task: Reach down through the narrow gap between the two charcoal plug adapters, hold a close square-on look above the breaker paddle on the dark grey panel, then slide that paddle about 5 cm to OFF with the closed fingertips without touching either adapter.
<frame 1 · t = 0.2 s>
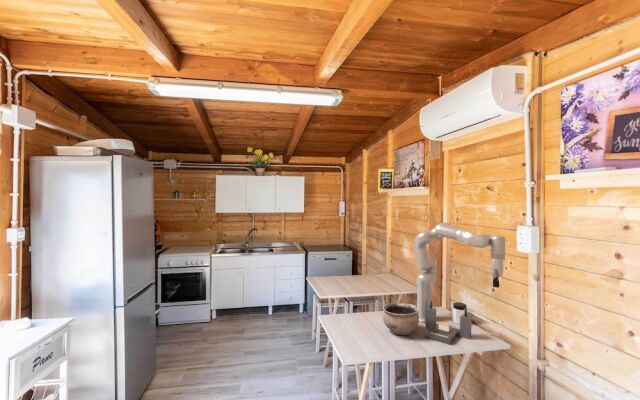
hand: (497, 285, 187), 31 cm above the table, tool pointing down, fingers open, 9 cm apart
left plug adapter: (430, 327, 202), on the table
breaker paddle: (444, 326, 191), point 5 cm above the table, slide at 0.0 cm
breaker panel: (443, 336, 189), on the table
ceramic bowl: (400, 332, 195), on the table
jar: (459, 322, 211), on the table
right plug adapter: (465, 336, 189), on the table
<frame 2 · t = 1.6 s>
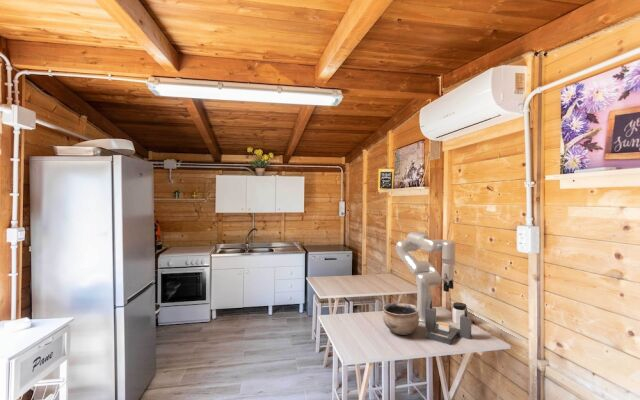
hand: (448, 289, 196), 26 cm above the table, tool pointing down, fingers open, 7 cm apart
nothing on the table moved.
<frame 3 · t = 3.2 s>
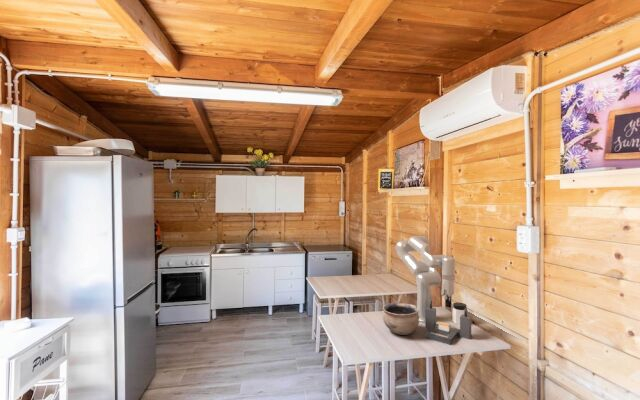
hand: (448, 306, 196), 15 cm above the table, tool pointing down, fingers closed
nothing on the table moved.
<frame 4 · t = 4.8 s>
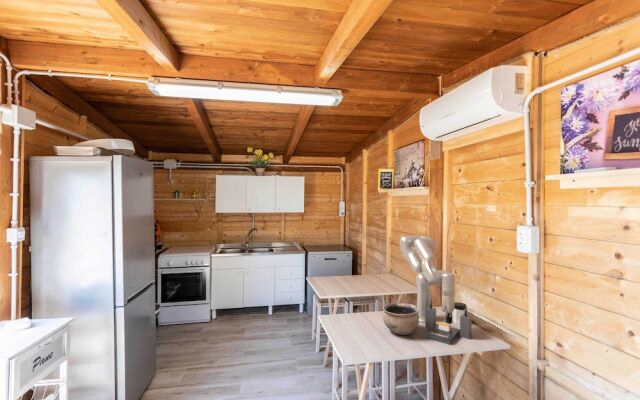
hand: (449, 323, 196), 5 cm above the table, tool pointing down, fingers closed
nothing on the table moved.
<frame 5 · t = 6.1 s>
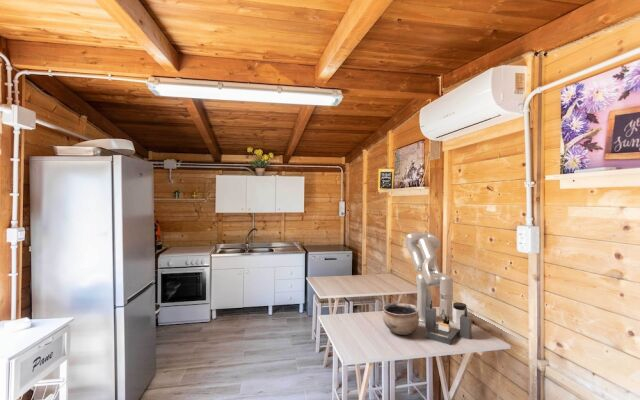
hand: (446, 326, 193), 4 cm above the table, tool pointing down, fingers closed
breaker paddle: (444, 327, 191), point 5 cm above the table, slide at 0.4 cm, touching gripper
everything else where it was.
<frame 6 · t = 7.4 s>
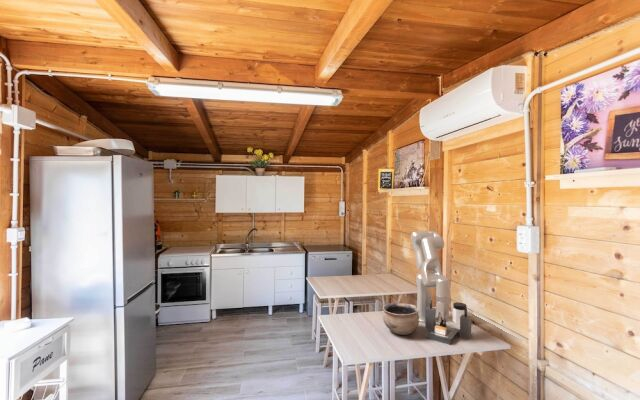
hand: (442, 329, 189), 4 cm above the table, tool pointing down, fingers closed
breaker paddle: (440, 330, 186), point 5 cm above the table, slide at 6.3 cm, touching gripper
everything else where it was.
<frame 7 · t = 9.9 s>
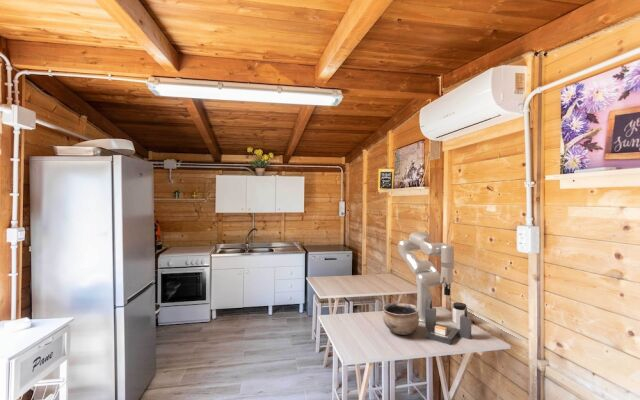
hand: (447, 294, 195), 23 cm above the table, tool pointing down, fingers closed
breaker paddle: (440, 330, 186), point 5 cm above the table, slide at 6.4 cm
everything else where it was.
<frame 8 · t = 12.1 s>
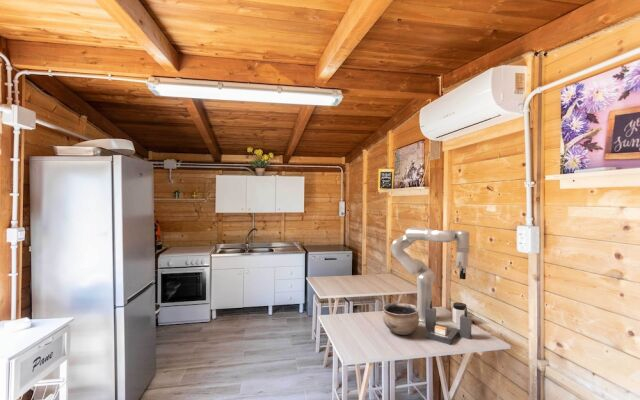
hand: (462, 278, 202), 31 cm above the table, tool pointing down, fingers closed
nothing on the table moved.
at the end: breaker paddle slide at 6.4 cm; left plug adapter moved 0.0 cm from its start; right plug adapter moved 0.0 cm from its start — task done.
